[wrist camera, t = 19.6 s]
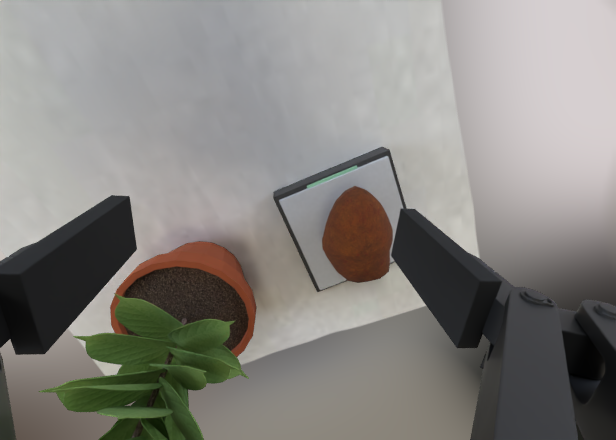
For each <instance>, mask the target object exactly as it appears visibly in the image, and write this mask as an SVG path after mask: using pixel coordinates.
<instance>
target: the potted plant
mask: <svg viewBox="0 0 616 440" xmlns="http://www.w3.org/2000/svg"><path fill="white" fill-rule="evenodd" d="M114 294H115V296H114V299H113V301H112V304H111V307H110V309H111V325H112V328H113V330H114V332H115V333H101V334H96V335H92V336H74V337H75V338H78V339H81V340H84V341H86V351H87V354H88V355H89V356H90V357H91V358H93V359H95V360H98V361H101V362H107V363H113V364H121V365H122V366H121V368H120V369H119V371H118V373H117V375H110V376H103V377H94V378H87V379H79V380H73V381H69V382H66V383H64V384H63V385H60V386H58V387H55V388H50V389H47V390H42V391H39V392H56V393H57V395H58V397H59V399H60V400H61V402H62V403H63V405H64V406H65V407H66V408H67V409H68V410H71V411H76V412H95V411H97V413H98V414H101V415H106V416H113V417H118V419H119V420H118V421H117V422H116V423H115V425H114V426H113V427H112V428H111V430H109V431H108V432H107V433H106V434H105V435H103V436H102V437H101V438H100V439H99V440H204V439H203V436H202V433H201V430H200V428H199V426H198V424H197V422H196V421H195V419H194V417H193V415H192V414H191V412H190V411H189V407H188V406H189V404H188V389H189V390H201V389H203V388H204V387H205V386H206V384H207V383H220V382H223V381H225V380H227V379H231V378H233V377H236V376H238V375H242V376H244V377H246V378H248V377H247V376H246V375H245V374H244V372H243V371H242V370H241V366H240V363H239V360H238V359H237V356H238V355H239V354H241V353H242V352H243V351H244V350H245V348H246V346H247V345H248V343H249V341H250V339H251V338H252V336H253V330H254V323H255V315H256V304H255V300H254V296H253V292H252V289H251V288H250V286H249V285H248V283H247V282H246V281H245V279H244V276H243V272H242V269H241V266H240V264H239V262H238V261H237V259H236V258H235V256H234V255H233V254H232V253H230V252H229V251H228V250H227V249H225V248H224V247H221V246H219V245H216V244H214V243H209V242H200V241H199V242H193V243H187V244H185V245H183V246H181V247H179V248H177V249H175V250H173V251H171V252H169V253H167V254H161V255H157V256H155V257H153V258H151V259H149V260H147V261H145V262H143V263H141V264H139V266H138V267H137V268H136V269H135V270H134V271H133V272H132V273H131V274H130V275H129V276H128V277H127V278H126V279H125V280H124V282H123V283H122V284H121V285H120V286H119V288H118V289H117V291H116V293H114ZM134 401H135V402H134ZM132 402H134V403H133V404H132V405H131V406H125V405H128V404H130V403H132Z"/></svg>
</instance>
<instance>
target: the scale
mask: <svg viewBox="0 0 616 440" xmlns="http://www.w3.org/2000/svg"><path fill="white" fill-rule="evenodd" d="M353 186H357V187H360V188H363V189H365V190H367V191H368V192H370V193H371V194H372V195H373V196H374V197H375V198H376V199H377V200H378V201H379V202H380V203H381V205H382V206H383V208H384V210H385V211H386V214H387V216H388V218H389V220H390V223H391V226H392V229H393V242H392V245H391V248H390V264H391V263H393V262H395V261H394V259H393V258H392V257H391V253H392V248H393V243H394V238H395V233H396V229H397V224H398V219H399V214H400V209H406V206H405V202H404V199H403V195H402V192H401V188H400V185H399V181H398V178H397V174H396V171H395V167H394V164H393V160H392V157H391V153H390V150H389V149H386V148H384V147H381V148H378V149H376V150H374V151H371V152H369V153H366V154H364V155H362V156H359V157H357V158H354V159H352V160H349V161H347V162H345V163H342V164H340V165H337V166H335V167H333V168H330V169H328V170H325V171H323V172H320V173H318V174H316V175H313V176H311V177H308V178H306V179H304V180H301V181H299V182H296V183H294V184H291V185H289V186H287V187H284V188H282V189H279V190H277V191H275V192H274V197H273V198H274V200H275V202H276V205H277V207H278V209H279V211H280V213H281V215H282V217H283V220H284V222H285V224H286V226H287V228H288V230H289V233H290V235H291V237H292V239H293V241H294V243H295V245H296V248H297V250H298V252H299V254H300V256H301V258H302V260H303V263H304V265H305V267H306V269H307V271H308V273H309V275H310V278H311V280H312V282H313V284H314V286H315V288H316V291H317V292H319V291H322V290H324V289H327V288H329V287H332V286H334V285H337V284H340V283H342V282H345V281H347V279H345V278H344V277H343V276H341V275H340V274H339V273H338V272H337V271H336V270H335V268H334V267H333V265H332V264H331V262H330V261H329V259H328V258H327V256H326V254H325V252H324V251H323V248H322V238H323V234H324V230H325V225H326V222H327V219H328V216H329V213H330V211H331V209H332V207H333V205H334V203H335V201H336V200H337V199H338V198H339V196H340V195H341V194H342V193H343V192H344V191H345V190H347V189H349V188H351V187H353Z"/></svg>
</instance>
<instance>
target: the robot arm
mask: <svg viewBox="0 0 616 440" xmlns="http://www.w3.org/2000/svg"><path fill="white" fill-rule="evenodd" d="M136 250H137V247H136V240H135V233H134V226H133V218H132V211H131V204H130V197H129V196H113V195H112V196H110V197H108V198H107V199H105V200H104V201H102V202H100V203H99V204H97V205H96V206H94V207H92V208H91V209H89V210H88V211H86V212H84V213H83V214H81V215H80V216H78V217H77V218H75V219H73V220H72V221H70V222H69V223H67V224H65V225H64V226H62V227H61V228H59V229H57V230H56V231H54V232H53V233H51V234H50V235H48V236H46V237H45V238H43V239H42V240H40V241H38V242H37V243H34V244H31V245H29V246H26V247H23V248H21V249H19V250H18V251H16V252H15V253H13V254H11V255H10V256H9V257H6V258H5V259H3V260H2V261H0V348H1V347H2V346H3V345H4V344H5V343H6V342H7V341H8V340H9V339H11V342H12V345H13V348H14V350H15V353H16V354H18V355H20V354H45V353H46V352H47V351H48V350H49V349H50V347H51V346H52V345H53V344H54V343H55V342H56V341H57V339H58V338H59V337H60V336H61V335H62V334H63V332H65V330H66V329H67V328H68V327H69V326H70V325H71V324H72V322H73V321H74V320H75V319H76V318H77V317H78V316H79V315H80V313H81V312H82V311H83V310H84V309H85V308H86V307H87V305H88V304H89V303H90V302H91V301H92V300H93V299H94V297H95V296H96V295H97V294H98V293H99V292H100V291H101V290H102V288H103V287H104V286H105V285H106V284H107V283H108V282H109V280H110V279H111V278H112V277H113V276H114V275H115V274H116V272H117V271H118V270H119V269H120V268H121V267H122V266H123V265H124V263H125V262H126V261H127V260H128V259H129V258H130V257H131V255H132V254H133V253H134V252H135V251H136ZM391 257H392V258H393V259H394V261H395V262H396V263H397V265H398V266H399V268H400V269H401V270H402V272H403V273H404V275H405V276H406V277H407V279H408V280H409V282H410V283H411V284H412V286H413V287H414V289H415V290H416V291H417V293H418V294H419V296H420V297H421V298H422V300H423V301H424V303H425V304H426V305H427V307H428V308H429V310H430V311H431V312H432V314H433V315H434V316H435V318H436V319H437V321H438V322H439V323H440V325H441V326H442V327H443V329H444V330H445V332H446V333H447V335H448V336H449V337H450V339H451V340H452V342H453V343H454V344H455V345H456V347H457V348H477V347H478V345H479V342H480V339H481V337H482V334H484V335H485V337H486V338H487V339H488V340H489V341H490V343H489V346H488V349H487V351H486V354H485V356H484V359H483V361H482V364H481V366H480V367H481V368H482V369H483V373H482V379H481V384H480V390H479V395H478V401H477V406H476V412H475V417H474V423H473V428H472V434H471V439H470V440H578V435H577V429H576V423H577V425H578V427H579V429H580V431H581V433H582V436H583V438H584V440H616V306H614V305H613V306H612V305H611V304H609V303H603V302H600V301H595V300H584V301H582V303H581V304H580V306H579V308H578V310H577V311H572V310H566V309H561V308H558V306H557V304H556V302H554V301H553V300H552V299H551V298H550V297H548V296H546V295H544V294H543V293H540V292H538V291H535V290H533V289H529V288H525V287H514V286H513V285H511V284H510V283H509V282H508V281H507V280H505V279H504V278H503V277H501V276H500V275H499V274H498V273H496V272H494V270H493V269H492V268H490V267H489V266H487V264H485V263H484V262H483V261H482V260H481V259H479V258H477V257H476V256H474V255H472V254H470V253H468V252H466V251H465V250H464V249H462V248H461V247H460V246H459V245H458V244H456V243H455V242H454V241H453V240H452V239H450V238H449V237H448V236H447V235H446V234H444V233H443V232H442V231H441V230H439V229H438V228H437V227H436V226H435V225H433V224H432V223H431V222H430V221H429V220H427V219H426V218H425V217H424V216H423V215H421V214H420V213H419V212H418V211H416V210H415V209H400V214H399V219H398V224H397V229H396V233H395V238H394V243H393V248H392V253H391ZM575 420H576V422H575ZM0 440H16V436H15V430H14V424H13V418H12V413H11V406H10V400H9V394H8V388H7V382H6V376H5V371H4V365H3V359H2V356H1V353H0Z"/></svg>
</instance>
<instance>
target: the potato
mask: <svg viewBox="0 0 616 440" xmlns="http://www.w3.org/2000/svg"><path fill="white" fill-rule="evenodd" d="M392 242H393V229H392V226H391V223H390V220H389V218H388V216H387V214H386V211H385V210H384V208H383V206H382V205H381V203H380V202H379V201H378V200H377V199H376V198H375V197H374V196H373V195H372V194H371V193H370V192H368V191H367V190H365V189H363V188H360V187H357V186H353V187H351V188H349V189H347V190H345V191H344V192H343V193H342V194H341V195H340V196H339V198H338V199H337V200H336V201H335V203H334V205H333V207H332V209H331V211H330V213H329V216H328V219H327V222H326V225H325V230H324V234H323V238H322V248H323V251H324V252H325V254H326V256H327V258H328V259H329V261H330V262H331V264H332V265H333V267H334V268H335V270H336V271H337V272H338V273H339V274H340V275H341V276H343V277H344V278H345V279H347V280H348V281H352V282H357V283H359V282H366V281H372V280H376V279H380V278H381V277H382V276H384V275H385V274H386V273H387V272H389V265H390V248H391V245H392Z"/></svg>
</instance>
